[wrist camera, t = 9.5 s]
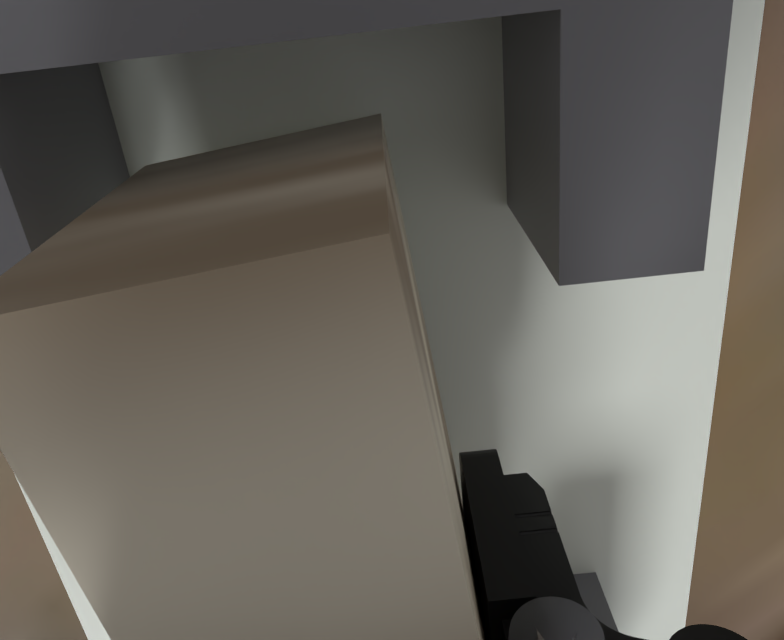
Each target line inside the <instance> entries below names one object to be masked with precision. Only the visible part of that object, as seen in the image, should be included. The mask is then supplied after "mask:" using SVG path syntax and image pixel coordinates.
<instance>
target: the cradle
mask: <svg viewBox="0 0 784 640" xmlns="http://www.w3.org/2000/svg"><path fill="white" fill-rule="evenodd" d="M764 4H765V0H0V276H1V275H2V274H3V273H5V272H6V271H7V270H9V269H10V268H11V267H13V266H14V265H15V264H17V263H18V262H19V261H21V260H22V259H23V258H24V257H26V256H27V255H28V254H30V253H31V252H32V251H34V250H35V249H36V248H38V247H39V246H40V245H42V244H43V243H44V242H46V241H47V240H48V239H49V238H51V237H52V236H53V235H55V234H56V233H57V232H59V231H60V230H61V229H63V228H64V227H65V226H67V225H68V224H69V223H70V222H72V221H73V220H74V219H76V218H77V217H78V216H80V215H81V214H82V213H84V212H85V211H86V210H88V209H89V208H90V207H92V206H93V205H94V204H95V203H97V202H98V201H99V200H101V199H102V198H103V197H105V196H106V195H107V194H109V193H110V192H111V191H113V190H114V189H115V188H116V187H118V186H119V185H120V184H122V183H123V182H124V181H126V180H127V179H128V178H130V177H131V176H132V175H134V174H135V173H136V172H137V171H139V170H140V169H141V168H143V167H144V166H146V165H150V164H155V163H159V162H164V161H168V160H173V159H177V158H182V157H186V156H191V155H195V154H200V153H204V152H209V151H213V150H218V149H222V148H227V147H231V146H236V145H240V144H245V143H250V142H254V141H259V140H263V139H268V138H272V137H277V136H281V135H286V134H290V133H295V132H299V131H304V130H308V129H313V128H317V127H322V126H326V125H331V124H335V123H340V122H344V121H349V120H354V119H358V118H363V117H367V116H372V115H376V114H381V116H382V121H383V126H384V130H385V135H386V140H387V145H388V150H389V154H390V159H391V164H392V169H393V173H394V178H395V183H396V188H397V192H398V197H399V202H400V207H401V212H402V216H403V221H404V226H405V231H406V235H407V240H408V245H409V250H410V254H411V259H412V264H413V269H414V274H415V278H416V283H417V288H418V293H419V297H420V302H421V307H422V312H423V316H424V321H425V326H426V331H427V335H428V340H429V345H430V350H431V355H432V359H433V364H434V369H435V374H436V378H437V383H438V388H439V393H440V397H441V402H442V407H443V412H444V417H445V421H446V426H447V431H448V436H449V440H450V445H451V450H452V455H453V459H454V464H455V469H456V474H457V479H458V483H459V488H460V493H461V498H462V490H461V477H460V463H459V452H469V451H479V450H489V449H496V450H497V452H498V456H499V460H500V463H501V467H502V471H503V474H504V475H508V474H518V473H528V474H529V475H530V476H531V477H532V478H533V479H534V480H535V481H536V482H537V483H538V484H539V485H540V486H541V487H542V488H543V489H544V491H545V494H546V497H547V500H548V502H549V505H550V508H551V513H552V515H553V517H554V520H555V523H556V526H557V530H558V532H559V534H560V537H561V540H562V543H563V546H564V549H565V552H566V555H567V558H568V560H569V563H570V566H571V569H572V572H573V575H574V578H575V581H576V584H577V587H578V589H579V592H580V595H581V598H582V600H583V602H584V604H585V605H586V607H587V608H588V610H589V611H590V612H591V613H592V614H593V615H594V616H595V617H596V618H597V619H598V620H599V621H600V622H602V623H603V624H605V625H606V626H608V627H609V628H611V629H613V630H615V631H617V632H620V633H622V634H625V635H628V636H632V637H637V638H642V639H647V640H669V639H670V638H671V636H672V635H673V634H674V633H676V632H677V631H678V630H680V629H682V628H684V627H685V623H686V615H687V607H688V600H689V592H690V584H691V576H692V568H693V560H694V553H695V545H696V537H697V529H698V521H699V513H700V506H701V498H702V490H703V482H704V474H705V466H706V459H707V451H708V443H709V435H710V427H711V419H712V412H713V404H714V396H715V388H716V380H717V372H718V365H719V357H720V349H721V341H722V333H723V325H724V318H725V310H726V302H727V294H728V286H729V278H730V271H731V263H732V255H733V247H734V239H735V231H736V224H737V216H738V208H739V200H740V192H741V184H742V177H743V169H744V161H745V153H746V145H747V137H748V130H749V122H750V114H751V106H752V98H753V90H754V83H755V75H756V67H757V59H758V51H759V44H760V36H761V28H762V20H763V12H764ZM15 476H16V475H15ZM16 479H17V477H16ZM17 481H18V479H17ZM18 483H19V485H20V488H21V490H22V492H23V494H24V497H25V499H26V501H27V503H28V506H29V508H30V510H31V512H32V515H33V517H34V519H35V521H36V524H37V526H38V528H39V530H40V532H41V535H42V537H43V539H44V541H45V544H46V546H47V548H48V550H49V553H50V555H51V557H52V559H53V562H54V564H55V566H56V568H57V571H58V573H59V575H60V577H61V580H62V582H63V584H64V586H65V589H66V591H67V593H68V595H69V598H70V600H71V602H72V604H73V607H74V609H75V611H76V613H77V616H78V618H79V620H80V622H81V625H82V627H83V629H84V631H85V634H86V636H87V638H88V640H111V639H110V637H109V635H108V634H107V632H106V630H105V628H104V627H103V625H102V623H101V622H100V620H99V618H98V616H97V615H96V613H95V611H94V610H93V608H92V606H91V604H90V603H89V601H88V599H87V597H86V596H85V594H84V592H83V591H82V589H81V587H80V585H79V584H78V582H77V580H76V579H75V577H74V575H73V573H72V572H71V570H70V568H69V567H68V565H67V563H66V561H65V560H64V558H63V556H62V554H61V553H60V551H59V549H58V548H57V546H56V544H55V542H54V541H53V539H52V537H51V536H50V534H49V532H48V530H47V529H46V527H45V525H44V524H43V522H42V520H41V518H40V517H39V515H38V513H37V511H36V510H35V508H34V506H33V505H32V503H31V501H30V499H29V498H28V496H27V494H26V493H25V491H24V489H23V487H22V486H21V484H20V482H19V481H18Z"/></svg>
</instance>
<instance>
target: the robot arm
mask: <svg viewBox="0 0 784 640" xmlns="http://www.w3.org/2000/svg"><path fill="white" fill-rule="evenodd" d="M459 463H460V477H461V490H462V503H463V512H464V518H465V524H466V529H467V535H468V541H469V547H470V552H471V558H472V564H473V569H474V575H475V581H476V586H477V592H478V598H479V604H480V609H481V615H482V621H483V626H484V632H485V638H486V640H647V639H642V638H637V637H632V636H628V635H625V634H622V633H620V632H617V631H615V630H613V629H611V628H609V627H608V626H606V625H605V624H603V623H602V622H600V621H599V620H598V619H597V618H596V617H595V616H594V615H593V614H592V613H591V612H590V611H589V610H588V608H587V607H586V605H585V604H584V602H583V600H582V598H581V595H580V592H579V589H578V587H577V584H576V581H575V578H574V575H573V572H572V569H571V566H570V563H569V560H568V558H567V555H566V552H565V549H564V546H563V543H562V540H561V537H560V534H559V532H558V530H557V526H556V523H555V520H554V517H553V515H552V513H551V508H550V505H549V502H548V500H547V497H546V494H545V491H544V489H543V488H542V487H541V486H540V485H539V484H538V483H537V482H536V481H535V480H534V479H533V478H532V477H531V476H530V475H529V474H528V473H518V474H508V475H504V474H503V471H502V467H501V463H500V460H499V456H498V452H497V450H496V449H489V450H479V451H469V452H459ZM669 640H747V639H746V638H744V637H743V636H741V635H739V634H737V633H735V632H733V631H731V630H728V629H726V628H722V627H719V626H714V625H706V624H698V625H691V626H687V627H684V628H682V629H680V630H678V631H677V632H676V633H674V634H673V635H672V636H671V638H670V639H669Z"/></svg>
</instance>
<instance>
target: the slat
mask: <svg viewBox="0 0 784 640" xmlns="http://www.w3.org/2000/svg"><path fill="white" fill-rule="evenodd" d="M0 450H1V451H2V453H3V455H4V456H5V458H6V460H7V462H8V463H9V465H10V467H11V469H12V470H13V472H14V474H15V475H16V477H17V479H18V481H19V482H20V484H21V486H22V487H23V489H24V491H25V493H26V494H27V496H28V498H29V499H30V501H31V503H32V505H33V506H34V508H35V510H36V511H37V513H38V515H39V517H40V518H41V520H42V522H43V524H44V525H45V527H46V529H47V530H48V532H49V534H50V536H51V537H52V539H53V541H54V542H55V544H56V546H57V548H58V549H59V551H60V553H61V554H62V556H63V558H64V560H65V561H66V563H67V565H68V567H69V568H70V570H71V572H72V573H73V575H74V577H75V579H76V580H77V582H78V584H79V585H80V587H81V589H82V591H83V592H84V594H85V596H86V597H87V599H88V601H89V603H90V604H91V606H92V608H93V610H94V611H95V613H96V615H97V616H98V618H99V620H100V622H101V623H102V625H103V627H104V628H105V630H106V632H107V634H108V635H109V637H110V639H111V640H486V638H485V632H484V626H483V621H482V615H481V609H480V604H479V598H478V592H477V586H476V581H475V575H474V569H473V564H472V558H471V552H470V547H469V541H468V535H467V529H466V524H465V518H464V512H463V503H462V498H461V493H460V488H459V483H458V479H457V474H456V469H455V464H454V459H453V455H452V450H451V445H450V440H449V436H448V431H447V426H446V421H445V417H444V412H443V407H442V402H441V397H440V393H439V388H438V383H437V378H436V374H435V369H434V364H433V359H432V355H431V350H430V345H429V340H428V335H427V331H426V326H425V321H424V316H423V312H422V307H421V302H420V297H419V293H418V288H417V283H416V278H415V274H414V269H413V264H412V259H411V254H410V250H409V245H408V240H407V235H406V231H405V226H404V221H403V216H402V212H401V207H400V202H399V197H398V192H397V188H396V183H395V178H394V173H393V169H392V164H391V159H390V154H389V150H388V145H387V140H386V135H385V130H384V126H383V121H382V116H381V114H376V115H372V116H367V117H363V118H358V119H354V120H349V121H344V122H340V123H335V124H331V125H326V126H322V127H317V128H313V129H308V130H304V131H299V132H295V133H290V134H286V135H281V136H277V137H272V138H268V139H263V140H259V141H254V142H250V143H245V144H240V145H236V146H231V147H227V148H222V149H218V150H213V151H209V152H204V153H200V154H195V155H191V156H186V157H182V158H177V159H173V160H168V161H164V162H159V163H155V164H150V165H146V166H144V167H143V168H141V169H140V170H139V171H137V172H136V173H135V174H134V175H132V176H131V177H130V178H128V179H127V180H126V181H124V182H123V183H122V184H120V185H119V186H118V187H116V188H115V189H114V190H113V191H111V192H110V193H109V194H107V195H106V196H105V197H103V198H102V199H101V200H99V201H98V202H97V203H95V204H94V205H93V206H92V207H90V208H89V209H88V210H86V211H85V212H84V213H82V214H81V215H80V216H78V217H77V218H76V219H74V220H73V221H72V222H70V223H69V224H68V225H67V226H65V227H64V228H63V229H61V230H60V231H59V232H57V233H56V234H55V235H53V236H52V237H51V238H49V239H48V240H47V241H46V242H44V243H43V244H42V245H40V246H39V247H38V248H36V249H35V250H34V251H32V252H31V253H30V254H28V255H27V256H26V257H24V258H23V259H22V260H21V261H19V262H18V263H17V264H15V265H14V266H13V267H11V268H10V269H9V270H7V271H6V272H5V273H3V274H2V275H1V276H0Z"/></svg>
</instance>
